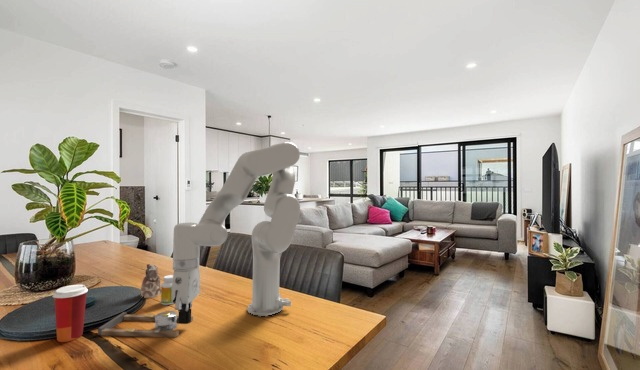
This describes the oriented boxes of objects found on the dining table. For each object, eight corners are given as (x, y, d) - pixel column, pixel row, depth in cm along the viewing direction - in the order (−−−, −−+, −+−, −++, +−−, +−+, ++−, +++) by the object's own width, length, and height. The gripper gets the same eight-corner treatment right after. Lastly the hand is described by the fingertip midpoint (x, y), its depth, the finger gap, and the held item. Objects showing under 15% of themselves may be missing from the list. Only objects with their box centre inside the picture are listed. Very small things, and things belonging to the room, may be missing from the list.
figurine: (145, 299, 112) (145, 268, 112) (137, 295, 117) (137, 264, 117) (164, 294, 118) (164, 264, 118) (156, 290, 122) (156, 261, 122)
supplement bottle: (170, 306, 107) (170, 279, 107) (157, 304, 108) (158, 278, 108) (180, 300, 112) (180, 275, 112) (167, 299, 114) (168, 273, 114)
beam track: (193, 319, 97) (193, 313, 97) (176, 337, 86) (176, 330, 86) (123, 318, 97) (123, 311, 97) (97, 335, 86) (98, 328, 86)
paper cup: (85, 327, 90) (86, 282, 90) (88, 337, 85) (89, 288, 85) (50, 336, 85) (51, 288, 85) (52, 347, 79) (53, 295, 79)
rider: (180, 323, 94) (180, 310, 94) (170, 333, 88) (170, 318, 88) (161, 323, 94) (161, 309, 94) (150, 332, 88) (151, 318, 88)
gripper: (187, 270, 84) (185, 335, 84) (207, 257, 99) (206, 312, 99) (161, 269, 84) (159, 334, 84) (185, 257, 99) (183, 311, 99)
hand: (184, 322), depth 91 cm, fingers closed
